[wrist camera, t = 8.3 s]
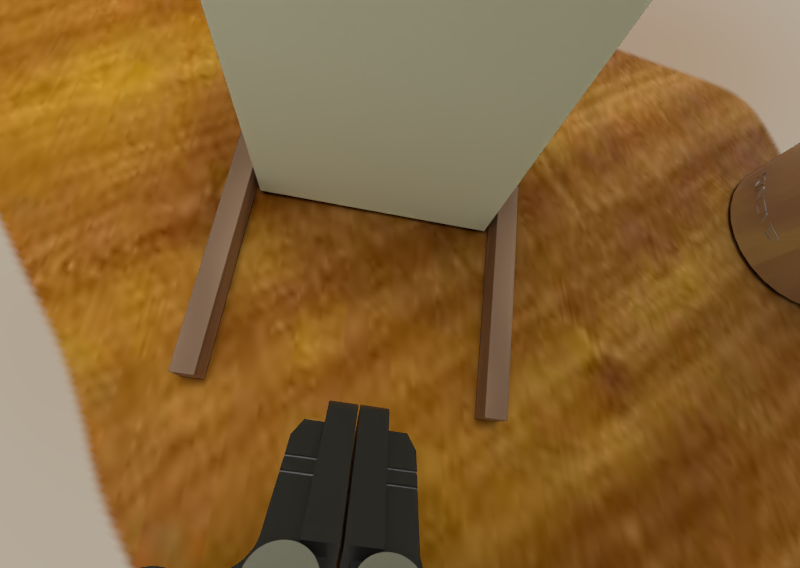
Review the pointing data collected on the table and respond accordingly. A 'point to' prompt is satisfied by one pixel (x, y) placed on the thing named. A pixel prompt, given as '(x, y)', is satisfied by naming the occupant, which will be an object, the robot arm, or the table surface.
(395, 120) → the hood
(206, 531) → the table surface
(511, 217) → the rails
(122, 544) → the table surface
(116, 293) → the table surface
